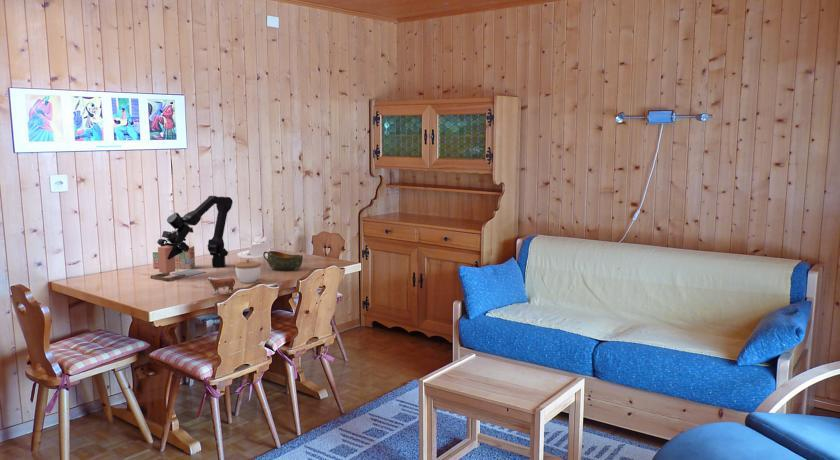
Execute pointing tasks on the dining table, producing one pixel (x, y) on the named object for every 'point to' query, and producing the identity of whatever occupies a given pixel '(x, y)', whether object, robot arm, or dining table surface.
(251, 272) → the lidded bowl
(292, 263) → the cup
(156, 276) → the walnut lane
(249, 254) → the dish
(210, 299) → the dining table surface
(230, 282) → the bull figurine
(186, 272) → the slate-grey mat
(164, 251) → the salmon-pink block
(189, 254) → the stack of blocks
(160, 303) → the dining table surface
